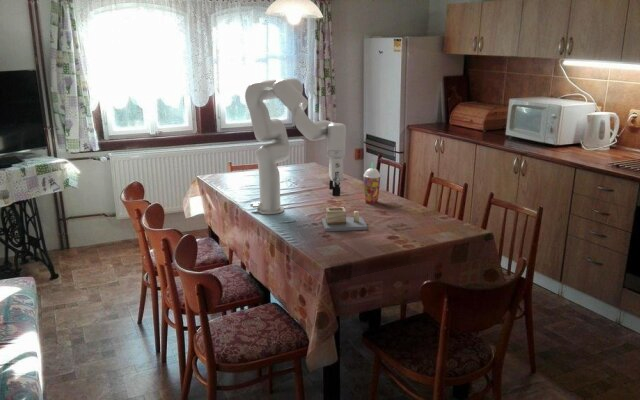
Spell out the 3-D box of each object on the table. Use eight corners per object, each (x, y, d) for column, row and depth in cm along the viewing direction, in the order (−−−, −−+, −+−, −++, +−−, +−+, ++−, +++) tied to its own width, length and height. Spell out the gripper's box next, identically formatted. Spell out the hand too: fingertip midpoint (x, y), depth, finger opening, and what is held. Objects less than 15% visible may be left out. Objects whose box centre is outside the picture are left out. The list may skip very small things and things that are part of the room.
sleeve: (346, 224, 229) (346, 211, 228) (327, 225, 228) (327, 211, 227) (343, 219, 235) (343, 206, 233) (325, 220, 234) (325, 207, 233)
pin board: (324, 231, 225) (324, 217, 224) (321, 221, 238) (321, 208, 236) (367, 229, 227) (367, 216, 226) (361, 219, 240) (361, 207, 238)
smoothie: (359, 200, 268) (360, 161, 262) (374, 199, 271) (375, 160, 266) (367, 205, 261) (368, 165, 255) (382, 203, 264) (384, 163, 258)
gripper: (348, 158, 215) (346, 198, 221) (341, 148, 232) (340, 186, 237) (329, 158, 215) (328, 198, 220) (324, 148, 231) (323, 187, 236)
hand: (334, 192), depth 228 cm, fingers open, 9 cm apart
